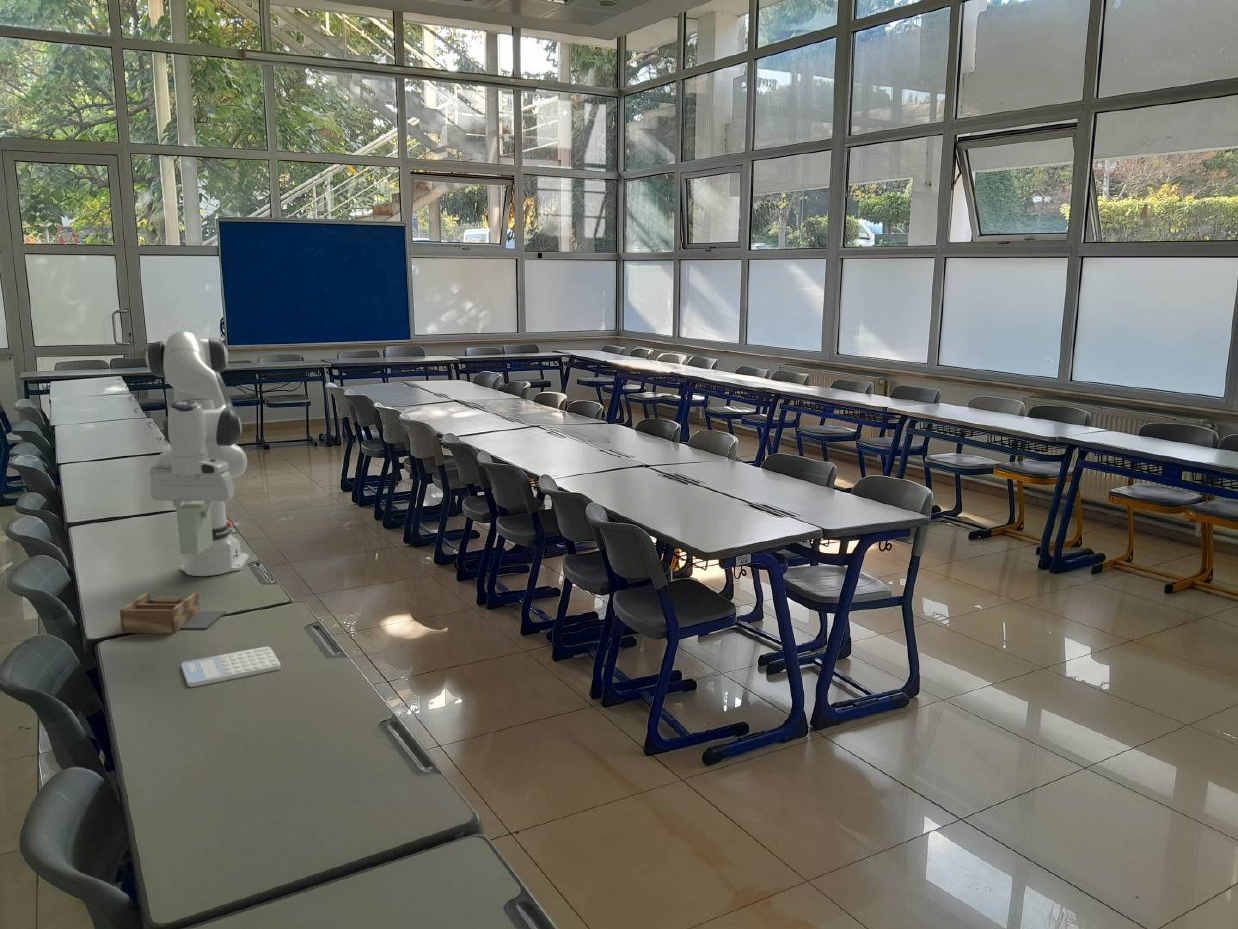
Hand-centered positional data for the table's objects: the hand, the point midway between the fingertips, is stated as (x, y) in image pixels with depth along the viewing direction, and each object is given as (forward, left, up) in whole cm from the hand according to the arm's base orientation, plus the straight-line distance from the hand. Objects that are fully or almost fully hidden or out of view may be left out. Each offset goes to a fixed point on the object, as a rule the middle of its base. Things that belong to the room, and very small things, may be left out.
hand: (194, 517), depth 237 cm
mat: (0, 0, -28) cm, 28 cm away
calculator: (+30, +19, -29) cm, 46 cm away
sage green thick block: (0, 0, -9) cm, 9 cm away
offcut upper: (-2, -10, -26) cm, 28 cm away
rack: (+2, -10, -28) cm, 30 cm away
